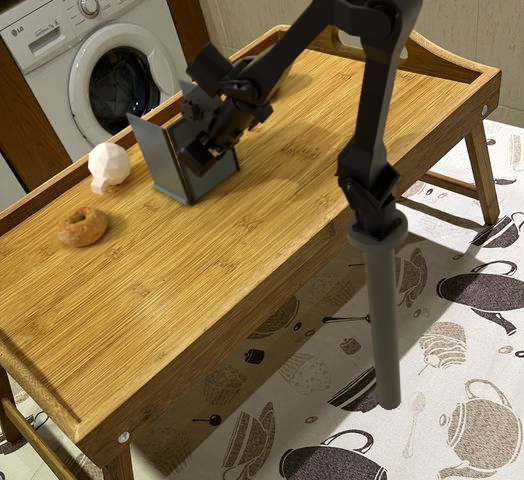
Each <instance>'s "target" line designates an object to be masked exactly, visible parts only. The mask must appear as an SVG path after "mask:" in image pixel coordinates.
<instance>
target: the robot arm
mask: <svg viewBox="0 0 524 480" xmlns="http://www.w3.org/2000/svg"><path fill="white" fill-rule="evenodd" d="M423 4H424V0H311V2H310V3H309V4H308V5H307V7H306V8H305V9H304V11H302V12H301V14H299V16H298V17H297V19H296V20H295V21H294V22H292V24H291V25H290V26H289V27H288V29H287V30H286V31H285V32H284V33H283V34H282V35H281V37H280V38H279V39H278V40H277V41H276V43H275V42H274V44H272V45H270V46H268V47H267V48H265V49H264V50H263V51H261V52H260V53H259V54H258V55H256V56H257V57H254V58H245V57H243V59H242V58H241V59H242V60H241V61H240V62H239V63H238V64H237V65H236V66H235V67H234V66H233V65H232V64H231V63H230V62H229V61H228V60H227V59H226V58H225V57H226V56H224V55H223V54H222V53H221V52H220V51H219V49H218V48H217V47H216V46H215V45H214V44H213V43H212V41H208V42H207V43H206V44H205V45H204V46H202V48H201V49H200V51H199V53H198V54H197V55H196V56H195V58H194V59H193V60H192V61H191V62H190V63H188V65H187V67H186V68H185V71H184V72H185V74H186V75H187V76H188V77H189V78H190V79H191V80H192V81H193V82H194V83H195V84H196V85H198V86H196V87H195V88H194V89H193V90H192V91H190V92H189V93H188V94H187V95H186V97H185V99H184V98H183V100H182V103H181V104H180V105H179V108H180V115H181V117H182V116H183V117H184V118H185V119H187V120H188V121H190V122H192V123H193V122H194V121H196V120H198V121H200V122H203V124H202V126H201V128H202V129H203V130H202V131H201V132H200V133H199V134H197V135H196V137H190V138H189V139H188V140H187V141H186V142H185V143H184V144H182V145H181V146H180V147H179V149H178V150H177V152H176V153H177V157H178V158H179V159H180V160H181V161H182V162H183V163H184V164H185V165H186V166H187V167H188V168H189V169H190V170H191V171H192V172H193V173H194V174H195V175H196V176H197V177H199V178H202V177H203V176H204V175H205V174H206V173H207V172H208V171H209V170H210V169H211V168H212V167H213V166H214V165H215V164H216V162H218V161H220V160H221V159H222V158H223V157H224V156H225V155H226V154H227V153H226V152H225V151H228V150H230V149H232V148H233V147H236V146H237V145H238V144H239V143H240V141H241V138H242V137H243V136H244V135H245V131H246V130H247V131H248V132H249V133H250V132H252V131H253V130H254V129H255V128H256V127H257V126H258V125H259V124H261V125H262V124H264V123H265V122H266V121H267V120H268V119H269V118H270V117H271V116H272V115H273V114H274V108H273V105H271V100H270V99H269V100H267V99H268V98H269V97H270V96H271V95H272V94H273V93H274V92H275V91H276V90H277V89H278V88H279V89H280V87H281V86H282V85H283V84H284V82H285V81H286V79H287V77H288V76H289V74H290V73H291V70H292V68H293V66H294V63H295V62H296V60H297V59H298V58H299V56H301V55H302V54H303V53H304V51H305V50H307V48H309V46H310V45H311V44H312V43H313V42H314V41H315V40H316V39H317V38H318V37H319V36H320V34H322V33H323V31H325V30H326V28H327V27H329V26H333V27H336V28H338V29H339V30H341V31H342V32H343V33H345V34H347V35H348V36H351V37H357V38H359V40H360V41H359V43H360V45H361V48H362V51H363V53H364V57H365V62H364V70H363V75H362V81H361V87H360V95H359V101H358V107H357V113H356V119H355V126H354V132H353V135H352V137H351V138H350V139H349V141H347V143H346V144H345V146H343V148H342V149H341V151H340V152H339V153H338V154H337V157H336V172H335V173H334V174H333V176H334V177H337V181H336V182H337V185H338V188H340V189H341V191H342V193H343V195H344V197H345V199H346V201H347V203H348V205H349V208H350V210H352V211H354V214H355V216H356V220H357V222H356V223H355V224H353V225H352V230H354V231H356V232H359V233H361V234H363V235H365V236H367V237H369V238H372V239H374V240H376V241H382V240H383V239H384V238H385V237H386V236H387V235H389V234H390V233H391V232H392V231H393V230H394V229H395V228H396V227H397V226H398V225H400V224H401V223H402V218H400V217H398V216H396V209H397V198H396V196H394V195H393V191H394V189H396V187H397V186H398V184H399V182H400V180H401V178H402V174H400V172H399V171H398V170H397V169H396V168H395V167H394V166H393V165H392V164H391V163H390V162H389V161H388V150H387V147H386V145H385V142H384V135H385V131H386V126H387V121H388V117H389V111H390V107H391V102H392V98H393V91H394V87H395V82H396V77H397V73H398V68H399V62H400V59H401V55H402V52H403V50H404V48H405V46H406V44H407V42H408V40H409V38H410V36H411V34H412V32H413V30H414V28H415V25H416V23H417V21H418V18H419V15H420V13H421V10H422V9H423ZM233 67H234V68H233ZM224 93H225V94H226V95H227V97H226V96H225V98H224V100H223V99H222V97H223V95H224ZM219 97H221V99H220V98H219ZM207 131H208V133H207ZM177 157H176V158H177ZM399 220H400V221H399Z"/></svg>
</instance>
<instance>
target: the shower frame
mask: <svg viewBox="0 0 524 480" xmlns="http://www.w3.org/2000/svg"><path fill="white" fill-rule="evenodd" d="M177 81H178V84H179V87H180V90H181V93H182V96H183V100H184V99H185V97H186V95H187V94H188V93H189V92H190V91H192V90H193V89H194V88H195V87H196V86H198V84H197V83H195V82H190V81H188V80H184V79H182V78H179V79H178V80H177ZM219 98H220V99H222V96H221V97H219ZM125 115H126V117H127V120H128V122H129V125H130V127H131V130H132V133H133V135H134V137H135V139H136V142H137V144H138V147H139V150H140V152H141V154H142V157H143V159H144V162H145V164H146V167H147V169H148V171H149V174H150V176H151V179H152V182H153V184H152V185H153V188H154V189H156V190H157V191H160V192H162V193H163V194H166V195H167V196H169V197H171V198H173V199H174V200H176V201H178V202H180V203H183V204H184V205H186V206H188V205H189V206H190V207H193V206H194V201H193V200H192V199H191V196H190V193H189V190H188V188H187V185H186V182H185V179H184V176H183V174H182V171H181V168H180V165H179V163H178V160H177V157H176V154H175V151H174V149H173V146H172V143H171V140H170V137H169V135H168V132H167V129H166V127H165V128H164V127H163V126H160V125H158V124H155V123H153V122H150V121H148V120H146V119H144V118H141V117H139V116H137V115H134V114H132V113H130V112H126V114H125ZM231 151H232V155H233V158H234V162H235V166H236V169H237V170H236V171H240V170H241V166H240V161H239V158H238V155H237V151H236V146H234V147H233V148H232V149H231Z"/></svg>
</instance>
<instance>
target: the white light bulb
mask: <svg viewBox="0 0 524 480" xmlns="http://www.w3.org/2000/svg"><path fill="white" fill-rule="evenodd" d="M131 161H132V160H131V158H130V157H129V155H128V153H127V151H126V150H125V148H124V147H122V146H120V145H119V144H117V143H114V142H111V141H110V142H108V141H103V142H101V143H99V144H97V145H96V146H95V147H94V148H93V149H92V151H91V152H90V153H89V154H88V163H87V164H88V166H87V168H88V170H89V171H90V173H91V175H92V177H93V179H92V181H91V183H90V188H91V192H92V193H93V194H97V195H101V196H103V195H104V194H105V191H106V190H107V186H116V185H119V184H122V182H124V180H125V179H126V178H127V177H129V175H130V173H131Z"/></svg>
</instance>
